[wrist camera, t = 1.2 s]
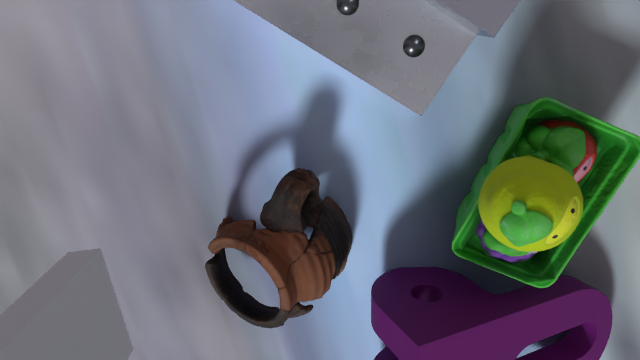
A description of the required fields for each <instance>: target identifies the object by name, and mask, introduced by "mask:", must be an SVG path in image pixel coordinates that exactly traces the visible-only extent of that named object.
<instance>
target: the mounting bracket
mask: <svg viewBox="0 0 640 360" xmlns="http://www.w3.org/2000/svg"><path fill="white" fill-rule="evenodd" d="M371 323H372V327H373V329H374V331H375V333H376V334H377V335H378V337H379V338H380V339H381V340H382V341H383V342H384V343H385V344H386V345H387V347H386V348H384V349H383V350H382V351H381V352H379V353H378V355H377V356H376V357H375V359H374V360H599V359H600V357H601V355H602V353H603V351H604V349H605V347H606V344H607V342H608V339H609V335H610V332H611V327H612V309H611V305H610V302H609V300H608V298H607V297H606V296H605V295H604V294H603V293H601V292H600V291H598V290H596V289H594V288H592V287H590V286H589V285H587V284H585V283H583V282H581V281H579V280H577V279H575V278H573V277H570V276H559V277H558V279H557V280H556V281H555V282H554V283H553V284H552V285H550V286H549V287H546V288H537V287H534V286H531V285H528V286H525V287H522V288H519V289H516V290H513V291H510V292H507V293H504V294H492V293H489V292H487V291H486V290H484V289H483V288H481V287H480V286H478V285H477V284H476V283H474V282H473V281H471V280H470V279H468V278H466V277H465V276H463V275H461V274H458V273H456V272H453V271H450V270H447V269H443V268H438V267H404V268H397V269H394V270H391V271H388V272H386V273H384V274H383V275H381V276H380V277H379V278H377V279H376V281H375V282H374V284H373V286H372V290H371ZM568 329H570V330H569V331H568V333H567V334H566V335H565V337H564V338H563V339H561V340H560V341H558V342H556V343H554V344H551V345H549V346H546V347H544V348H541V349H539V350H536V351H534V352H531V353H529V354H526V355H524V356H521V357H519V358H517V356H518V355H519V353H520V352H521V351H522V350H523V349H524V348H525V347H527V346H528V345H530V344H532V343H535V342H537V341H540V340H543V339H545V338H548V337H550V336H553V335H555V334H558V333H560V332H563V331H566V330H568Z"/></svg>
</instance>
